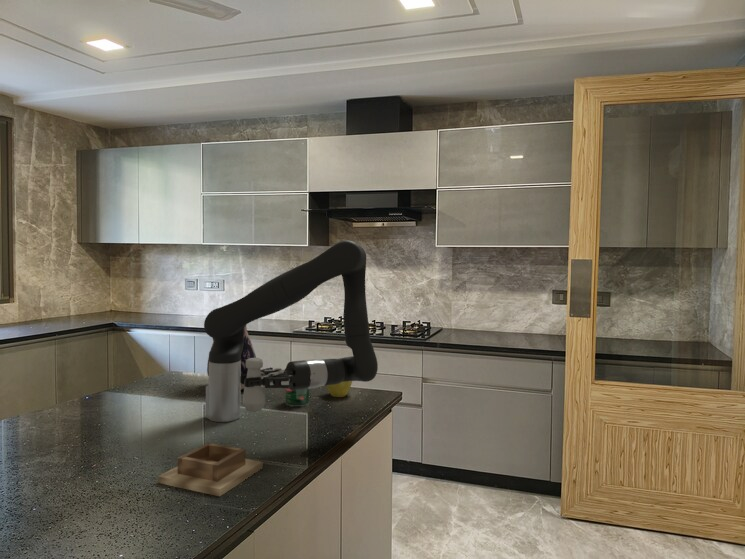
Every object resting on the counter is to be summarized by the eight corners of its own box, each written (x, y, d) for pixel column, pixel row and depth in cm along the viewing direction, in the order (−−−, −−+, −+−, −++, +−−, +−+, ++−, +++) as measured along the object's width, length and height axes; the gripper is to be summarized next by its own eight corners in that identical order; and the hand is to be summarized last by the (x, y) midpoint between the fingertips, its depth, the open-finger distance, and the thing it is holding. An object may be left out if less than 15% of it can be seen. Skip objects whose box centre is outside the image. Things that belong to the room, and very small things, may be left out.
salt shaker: (260, 413, 137) (260, 361, 136) (238, 411, 138) (238, 360, 137) (269, 406, 143) (269, 357, 142) (248, 405, 144) (248, 355, 143)
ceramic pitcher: (231, 397, 188) (232, 324, 187) (189, 388, 199) (189, 319, 198) (267, 387, 203) (268, 319, 202) (226, 379, 214) (226, 314, 213)
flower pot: (320, 393, 197) (320, 373, 196) (346, 390, 201) (347, 371, 200) (329, 400, 187) (329, 379, 187) (357, 397, 191) (357, 377, 191)
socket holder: (158, 483, 120) (158, 460, 119) (205, 457, 134) (205, 437, 134) (220, 496, 114) (220, 472, 113) (262, 468, 129) (262, 447, 128)
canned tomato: (314, 402, 184) (314, 369, 184) (298, 408, 178) (299, 374, 177) (295, 398, 188) (296, 366, 188) (280, 404, 182) (280, 370, 181)
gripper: (296, 355, 153) (234, 361, 145) (317, 365, 141) (251, 372, 132) (296, 382, 154) (234, 389, 145) (317, 394, 141) (251, 403, 133)
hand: (242, 381), depth 139 cm, fingers closed on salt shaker, 3 cm apart
